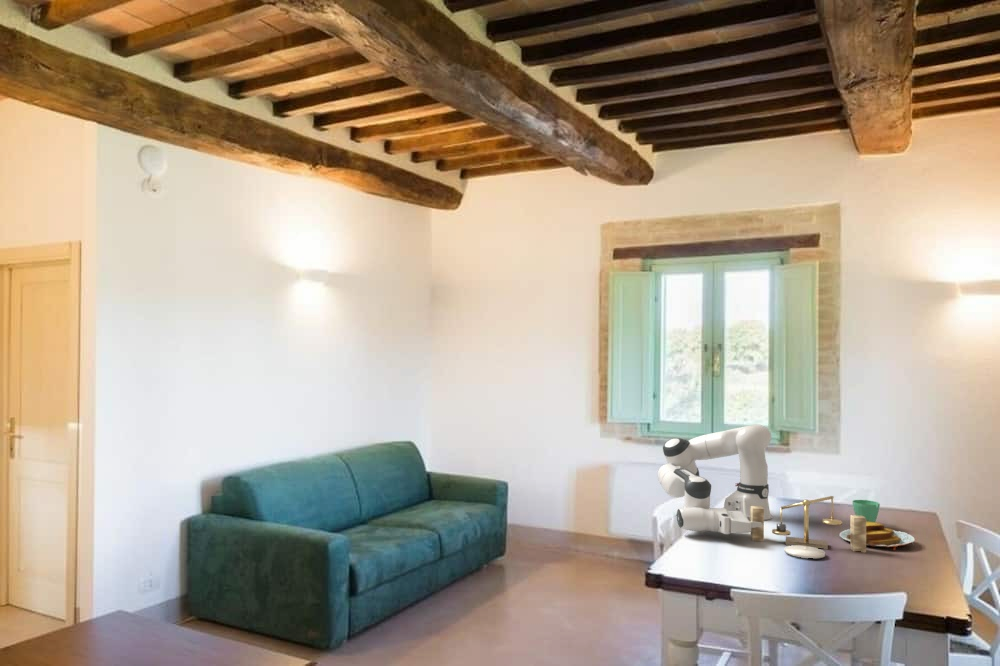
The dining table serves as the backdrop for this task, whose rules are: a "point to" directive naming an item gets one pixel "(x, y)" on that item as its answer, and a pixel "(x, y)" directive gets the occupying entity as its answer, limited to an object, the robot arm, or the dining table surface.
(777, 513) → the dining table surface
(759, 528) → the column
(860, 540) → the column
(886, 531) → the food on plate
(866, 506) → the mug
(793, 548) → the dish
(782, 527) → the balance
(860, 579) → the dining table surface
